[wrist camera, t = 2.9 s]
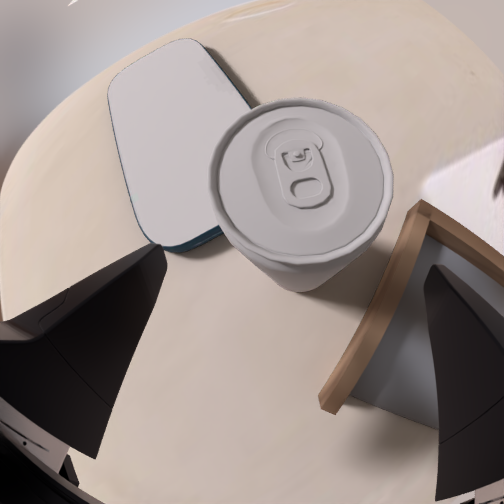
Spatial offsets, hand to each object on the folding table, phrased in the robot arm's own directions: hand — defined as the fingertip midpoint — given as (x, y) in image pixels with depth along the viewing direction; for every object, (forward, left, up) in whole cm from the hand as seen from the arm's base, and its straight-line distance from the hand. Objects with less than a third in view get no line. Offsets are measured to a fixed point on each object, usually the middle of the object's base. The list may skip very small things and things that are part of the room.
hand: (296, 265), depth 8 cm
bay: (+5, -11, -9) cm, 15 cm away
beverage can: (+1, +1, -9) cm, 10 cm away
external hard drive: (+2, +17, -10) cm, 20 cm away
